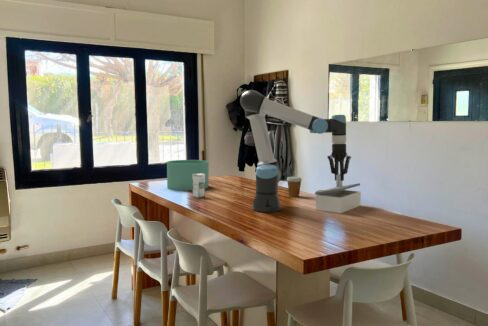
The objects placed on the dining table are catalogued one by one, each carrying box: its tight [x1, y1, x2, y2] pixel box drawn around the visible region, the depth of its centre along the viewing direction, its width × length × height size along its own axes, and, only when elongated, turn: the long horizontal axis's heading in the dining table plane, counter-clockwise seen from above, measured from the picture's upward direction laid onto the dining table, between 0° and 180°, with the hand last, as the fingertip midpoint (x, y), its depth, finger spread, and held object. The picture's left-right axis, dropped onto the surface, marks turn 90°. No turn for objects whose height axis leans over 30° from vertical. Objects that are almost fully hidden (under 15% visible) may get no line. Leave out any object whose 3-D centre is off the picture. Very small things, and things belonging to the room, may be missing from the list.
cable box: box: [315, 189, 362, 214], centre depth 224 cm, size 26×14×8 cm, turn 142°
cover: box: [315, 182, 361, 196], centre depth 224 cm, size 26×14×1 cm, turn 142°
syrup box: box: [191, 173, 206, 199], centre depth 256 cm, size 6×6×14 cm
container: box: [166, 159, 210, 191], centre depth 296 cm, size 30×30×19 cm
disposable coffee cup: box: [286, 176, 303, 198], centre depth 260 cm, size 10×10×12 cm
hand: (339, 186), depth 224 cm, fingers closed
